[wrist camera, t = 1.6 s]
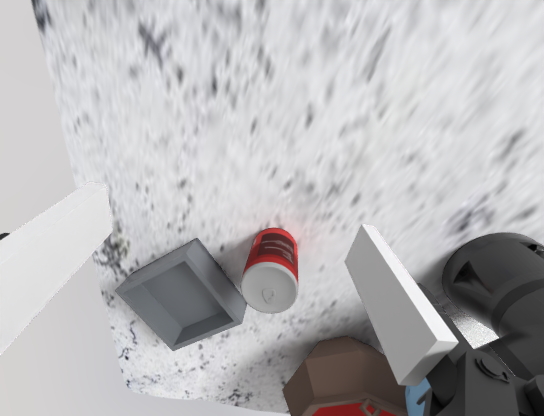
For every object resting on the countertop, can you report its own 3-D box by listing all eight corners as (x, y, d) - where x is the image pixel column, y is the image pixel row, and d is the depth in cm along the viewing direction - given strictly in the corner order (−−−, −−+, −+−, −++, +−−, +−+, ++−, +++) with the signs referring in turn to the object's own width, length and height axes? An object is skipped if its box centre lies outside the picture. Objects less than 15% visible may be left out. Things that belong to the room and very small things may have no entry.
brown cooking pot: (287, 310, 47) (281, 403, 32) (417, 323, 45) (476, 429, 30) (281, 391, 56) (275, 495, 41) (390, 406, 54) (425, 520, 39)
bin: (247, 302, 47) (242, 323, 42) (183, 329, 51) (172, 351, 47) (197, 237, 43) (185, 253, 38) (132, 272, 47) (114, 290, 42)
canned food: (263, 271, 44) (254, 319, 34) (245, 234, 42) (229, 274, 31) (303, 259, 42) (306, 306, 32) (287, 220, 40) (285, 257, 30)
